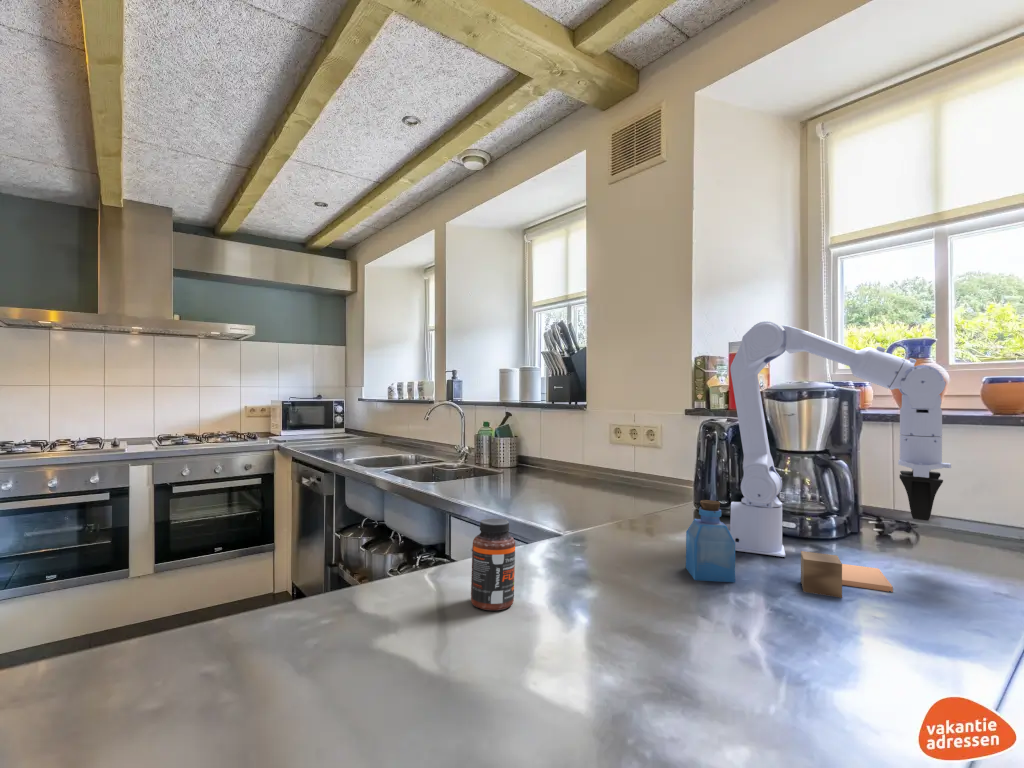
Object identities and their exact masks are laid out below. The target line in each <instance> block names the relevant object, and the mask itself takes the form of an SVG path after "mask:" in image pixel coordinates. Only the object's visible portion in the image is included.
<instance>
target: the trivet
mask: <svg viewBox="0 0 1024 768" xmlns="http://www.w3.org/2000/svg"><path fill="white" fill-rule="evenodd" d="M842 586H847V587H854V588H862V589H870V590H875V591H882V592H889V591H891V592H890V593H893V592H894V586H893V585H892V584H891V583H890V581H889V580H888V579H887V577H886V575H884V574H883V572H882V570H881V569H880V568H879V567H869V566H862V565H855V564H846V563H842Z"/></svg>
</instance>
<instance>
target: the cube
mask: <svg viewBox="0 0 1024 768" xmlns="http://www.w3.org/2000/svg"><path fill="white" fill-rule="evenodd" d="M842 564H843V563H842V561H841V560H840V558H839V556H838V555H836V554H830V553H819V552H811V551H802V550H800V584H802V585H801V589H802V592H803V593H808V594H809V593H810V594H816V595H822V596H827V597H828V596H829V597H835V598H840V599H841V598H843V585H842Z"/></svg>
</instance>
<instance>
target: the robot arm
mask: <svg viewBox="0 0 1024 768" xmlns="http://www.w3.org/2000/svg"><path fill="white" fill-rule="evenodd" d="M782 328H783V329H782ZM785 352H787V353H789V354H796V353H801V352H805V353H808V354H812V355H815V356H817V357H821V358H824V359H827V360H829V361H833V362H836V363H838V364H842V365H845V366H846V367H847V366H848V367H849V369H850V371H851V373H852V375H853V377H856V378H859V379H861V380H864V381H867V382H869V383H871V384H875V385H877V386H880V387H882V388H885V389H889V390H891V391H893V390H897V389H898V390H899V392H900V394H901V407H900V409H899V459H898V460H897V464H898V466H901V467H906V468H909V469H911V470H910V471H909V470H900V471H899V472H900V473H899V479H900V481H901V483H902V485H903V487H904V489H905V492H906V496H907V500H908V503H909V504H908V506H909V511H910V515H911V517H912V519H913V520H918V521H919V520H920V521H926V522H928V521H929V520H930V517H931V515H932V510H933V505H934V501H935V497H936V495H937V492H938V491H939V489H940V487H941V485H942V484H943V483H944V480H943V479H941V478H940V477H941V472H938V471H933V470H938V469H944V468H945V469H951V468H952V464H951V462H943V410H942V407H941V406H942V404H943V403H942V398H941V397H942V395H941V394H942V393H943V391H944V390H945V388H946V380H945V378H944V376H943V374H942V373H941V372H940V371H939V370H938V369H937V368H935V367H934V366H930V365H926V364H925V365H924V364H923V365H921V364H920V365H916V363H917V360H916V359H914V358H912V357H910V358H909V359H907V358H906V359H905V358H903V357H900V356H897V355H895V354H892V353H889V352H886V348H885V347H883V346H877V347H876V348H874V347H871V346H868V347H867V346H866V347H864V348H861V349H859V350H857V349H855V348H851V347H849V346H846V345H844V344H841V343H839V342H836V341H833V340H830V339H828V338H826V337H823V336H820V335H817V334H815V333H812V332H810V331H807V330H804V329H802V328H797V327H793V326H790V325H785V324H781V326H779V324H777V323H776V322H772V321H770V320H769V321H768V320H767V321H759V322H757V323H756V324H754V325H753V326H752V327H751V328H750V329H749V330H748V331H746V333H745V334H744V335H743V336H742V338H741V342H740V345H739V347H738V349H737V352H736V353H735V356H734V357H733V360H732V363H730V369H729V371H730V376H731V382H732V389H733V395H734V402H735V408H736V413H737V420H738V427H739V428H738V429H739V432H740V440H741V446H742V452H743V461H742V470H743V477H742V479H741V483H740V491H741V494H742V495H743V497H742V498H741V501H731V503H730V517H729V518H730V527H729V529H728V530H729V532H730V534H731V536H732V538H733V540H734V542H735V552H745V553H751V554H760V555H768V556H772V557H773V556H774V557H775V556H776V557H782V558H783V557H784V558H785V557H786V552H785V547H784V545H783V502H781V500H780V499H779V497H778V495H779V494H780V492H781V491H782V489H783V480H782V478H781V476H780V474H779V473H778V472H777V469H776V468H775V464H774V459H773V456H772V454H771V450H770V442H769V439H768V431H767V424H766V418H765V413H764V407H763V401H762V400H763V399H762V394H761V388H760V383H759V374H760V373H761V371H763V369H764V368H765V367H766V366H767V365H768V364H769V363H770V362H772V361H773V360H775V359H777V358H778V357H780V356H781V355H783V354H784V353H785Z"/></svg>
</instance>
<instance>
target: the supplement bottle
mask: <svg viewBox="0 0 1024 768" xmlns="http://www.w3.org/2000/svg"><path fill="white" fill-rule="evenodd" d="M479 531H480V533H479V534H477V535H476V536H475V537H474V538H473V540H472V549H471V550H472V551H471V552H472V553H471V581H470V582H471V583H470V584H471V585H470V601H471V604H472V605H473V607H475V608H478V609H480V610H484V611H492V612H495V611H503V610H506V609H508V608H510V607H511V606H512V605H513V603H514V598H515V574H516V573H515V571H516V570H515V566H516V540H515V539H514V537H513V536H511V534H510V532H509V531H510V522H509V521H508V520H507V519H503V518H493V517H492V518H491V517H490V518H484V519H481V520H480V524H479Z"/></svg>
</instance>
